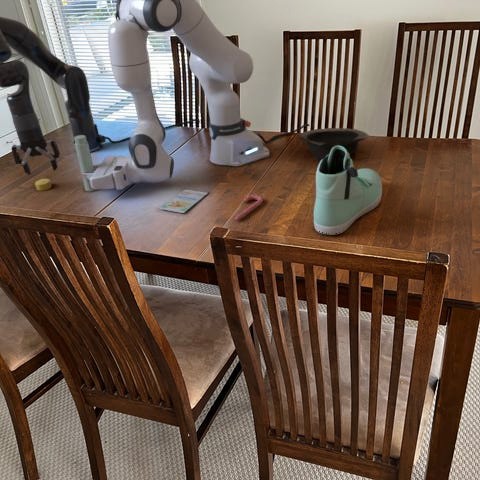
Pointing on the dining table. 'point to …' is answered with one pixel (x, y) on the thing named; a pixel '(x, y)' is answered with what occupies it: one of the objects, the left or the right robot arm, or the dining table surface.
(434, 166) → the dining table surface
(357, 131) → the stone bowl
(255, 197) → the candy cane
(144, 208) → the dining table surface
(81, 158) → the mint green cylinder
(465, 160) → the dining table surface
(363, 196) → the sneaker
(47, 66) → the left robot arm
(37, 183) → the lid
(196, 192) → the baking ingredient package
